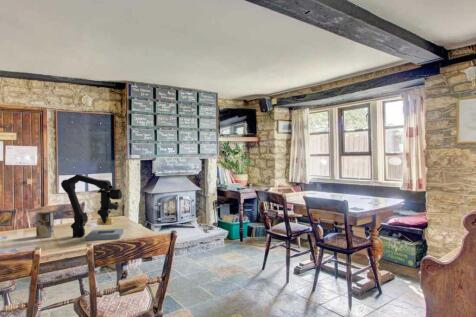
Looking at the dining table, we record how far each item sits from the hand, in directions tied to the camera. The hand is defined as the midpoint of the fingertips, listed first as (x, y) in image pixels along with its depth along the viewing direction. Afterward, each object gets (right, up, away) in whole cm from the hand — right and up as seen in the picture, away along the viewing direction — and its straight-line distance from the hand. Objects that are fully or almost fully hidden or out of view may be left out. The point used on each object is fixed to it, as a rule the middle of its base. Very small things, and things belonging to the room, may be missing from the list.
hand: (105, 222), depth 214 cm
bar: (0, -1, 0) cm, 1 cm away
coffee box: (-41, -10, +1) cm, 42 cm away
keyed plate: (0, -9, 0) cm, 9 cm away
